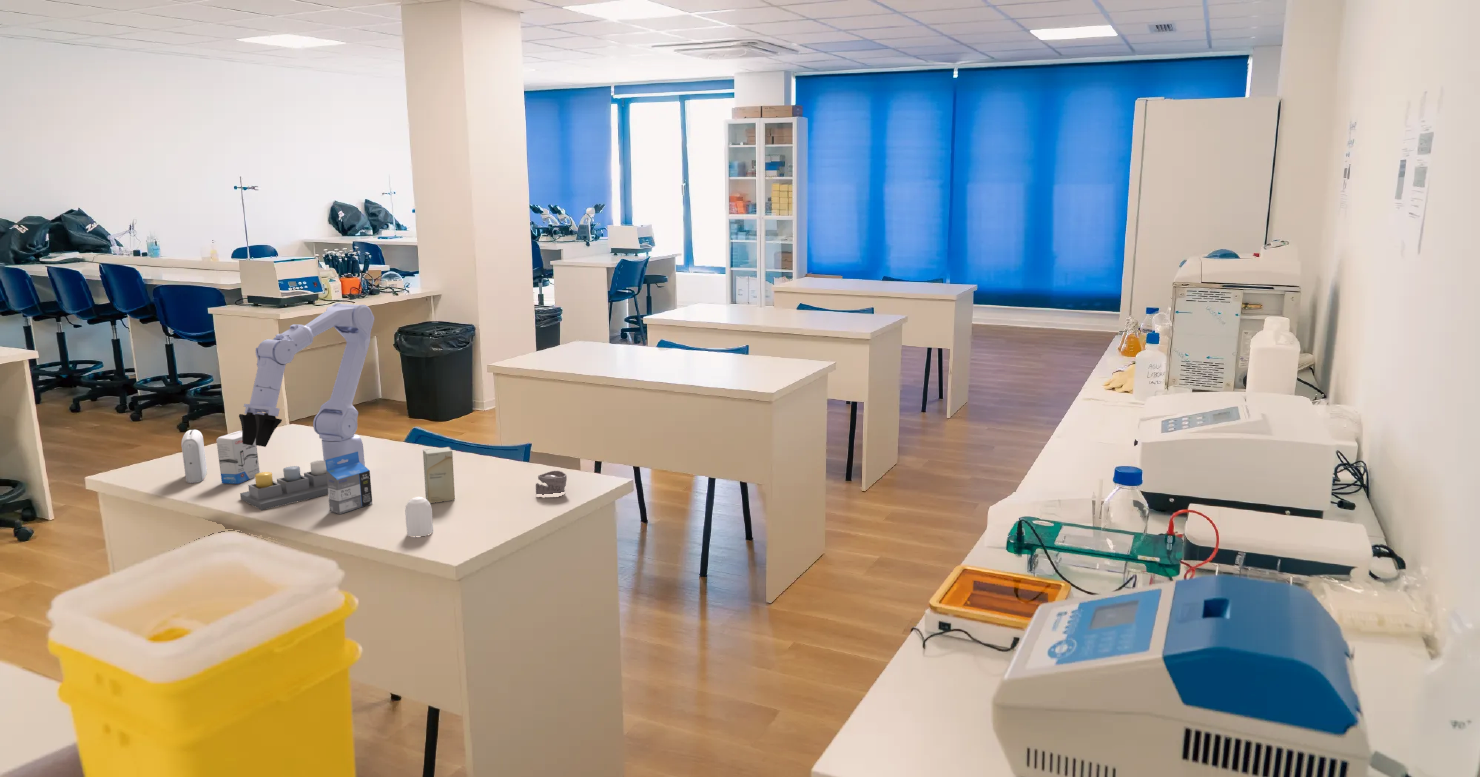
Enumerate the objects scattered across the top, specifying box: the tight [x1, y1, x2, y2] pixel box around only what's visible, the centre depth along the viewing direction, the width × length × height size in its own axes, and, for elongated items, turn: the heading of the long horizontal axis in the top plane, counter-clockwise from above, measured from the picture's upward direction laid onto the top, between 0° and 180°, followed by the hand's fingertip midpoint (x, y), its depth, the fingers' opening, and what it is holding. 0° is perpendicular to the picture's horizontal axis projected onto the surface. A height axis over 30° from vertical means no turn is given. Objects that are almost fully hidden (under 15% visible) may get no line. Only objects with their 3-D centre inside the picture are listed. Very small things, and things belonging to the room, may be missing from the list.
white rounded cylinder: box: [404, 496, 434, 538], centre depth 203 cm, size 5×5×8 cm
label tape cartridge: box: [325, 451, 373, 515], centre depth 218 cm, size 9×4×12 cm, turn 148°
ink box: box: [216, 430, 261, 485], centre depth 241 cm, size 9×5×12 cm, turn 168°
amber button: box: [254, 471, 274, 488], centre depth 224 cm, size 4×4×3 cm
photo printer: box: [181, 429, 208, 484], centre depth 242 cm, size 10×4×12 cm, turn 23°
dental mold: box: [535, 470, 568, 495], centre depth 228 cm, size 8×7×5 cm
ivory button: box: [309, 460, 327, 476], centre depth 233 cm, size 4×4×3 cm
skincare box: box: [422, 446, 456, 504], centre depth 224 cm, size 6×4×12 cm
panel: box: [239, 471, 328, 511], centre depth 229 cm, size 20×12×4 cm, turn 138°
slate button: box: [282, 465, 302, 482], centre depth 228 cm, size 4×4×3 cm
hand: (254, 445), depth 224 cm, fingers open, 7 cm apart
